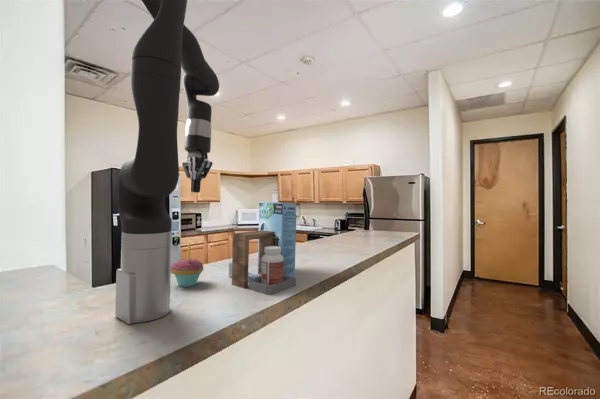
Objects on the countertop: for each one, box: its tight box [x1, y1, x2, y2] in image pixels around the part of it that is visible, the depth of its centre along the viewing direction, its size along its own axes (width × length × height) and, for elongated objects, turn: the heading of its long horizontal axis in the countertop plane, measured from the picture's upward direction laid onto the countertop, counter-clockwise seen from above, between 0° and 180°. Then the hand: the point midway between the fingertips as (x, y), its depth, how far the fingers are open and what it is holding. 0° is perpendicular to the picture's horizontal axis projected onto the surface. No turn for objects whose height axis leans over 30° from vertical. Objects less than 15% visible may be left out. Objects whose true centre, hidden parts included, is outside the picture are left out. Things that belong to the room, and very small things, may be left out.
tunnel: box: [231, 230, 274, 289], centre depth 85 cm, size 5×12×14 cm, turn 143°
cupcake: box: [171, 242, 204, 288], centre depth 81 cm, size 9×8×12 cm
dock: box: [248, 276, 297, 296], centre depth 81 cm, size 11×8×2 cm
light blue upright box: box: [257, 201, 297, 278], centre depth 94 cm, size 20×5×23 cm, turn 29°
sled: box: [228, 262, 261, 283], centre depth 87 cm, size 13×8×4 cm, turn 53°
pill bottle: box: [261, 246, 284, 286], centre depth 81 cm, size 6×6×11 cm
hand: (195, 192), depth 89 cm, fingers closed
